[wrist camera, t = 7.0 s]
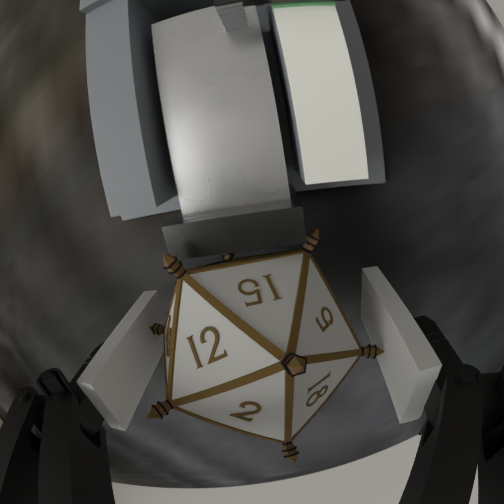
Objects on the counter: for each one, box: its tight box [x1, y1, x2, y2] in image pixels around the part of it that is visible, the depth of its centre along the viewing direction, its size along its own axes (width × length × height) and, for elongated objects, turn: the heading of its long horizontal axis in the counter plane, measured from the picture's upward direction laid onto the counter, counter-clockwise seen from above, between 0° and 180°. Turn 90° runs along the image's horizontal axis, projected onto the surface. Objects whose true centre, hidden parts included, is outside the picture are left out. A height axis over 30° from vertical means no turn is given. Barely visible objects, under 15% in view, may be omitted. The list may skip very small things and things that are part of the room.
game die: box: [148, 228, 384, 464], centre depth 10 cm, size 9×8×10 cm
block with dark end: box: [151, 0, 346, 259], centre depth 9 cm, size 7×9×5 cm
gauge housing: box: [80, 0, 386, 221], centre depth 9 cm, size 14×12×6 cm
